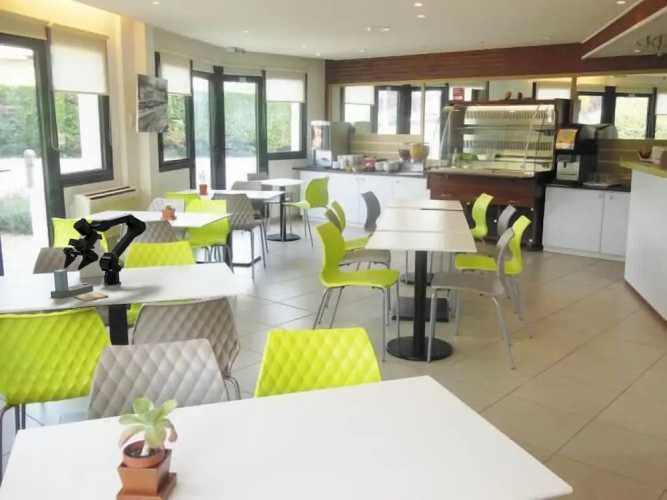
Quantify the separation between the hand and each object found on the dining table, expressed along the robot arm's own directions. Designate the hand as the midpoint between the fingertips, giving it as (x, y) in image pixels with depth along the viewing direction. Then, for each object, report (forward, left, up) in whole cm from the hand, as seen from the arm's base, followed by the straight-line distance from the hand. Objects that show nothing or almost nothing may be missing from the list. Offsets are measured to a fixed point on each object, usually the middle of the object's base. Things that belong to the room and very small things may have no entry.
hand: (71, 268), depth 297 cm
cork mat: (-2, +13, -12) cm, 18 cm away
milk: (-27, -32, -12) cm, 44 cm away
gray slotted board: (+1, 0, -12) cm, 12 cm away
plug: (+6, +1, -12) cm, 13 cm away
